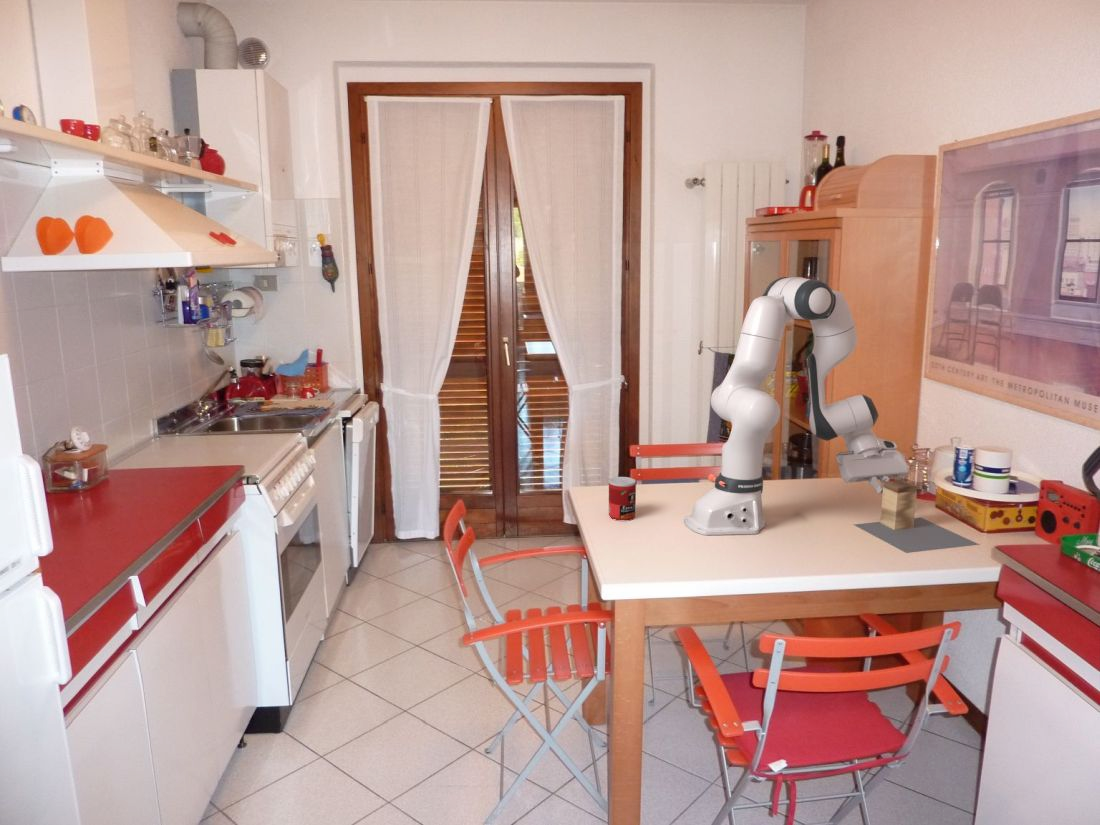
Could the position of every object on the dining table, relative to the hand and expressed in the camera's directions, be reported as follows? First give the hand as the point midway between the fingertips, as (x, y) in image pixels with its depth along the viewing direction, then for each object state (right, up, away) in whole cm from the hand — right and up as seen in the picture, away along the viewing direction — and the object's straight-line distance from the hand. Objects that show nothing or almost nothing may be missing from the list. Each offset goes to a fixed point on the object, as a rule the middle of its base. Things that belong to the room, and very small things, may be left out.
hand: (884, 492), depth 226 cm
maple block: (+2, -9, -4) cm, 10 cm away
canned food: (-73, -8, +6) cm, 74 cm away
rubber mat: (+3, -11, -11) cm, 16 cm away
